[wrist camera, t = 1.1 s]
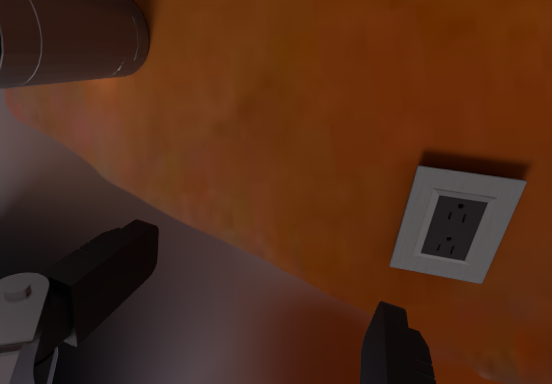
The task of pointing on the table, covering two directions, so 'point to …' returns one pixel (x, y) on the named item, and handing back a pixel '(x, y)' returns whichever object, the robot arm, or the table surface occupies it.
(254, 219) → the table surface
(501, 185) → the electrical outlet
